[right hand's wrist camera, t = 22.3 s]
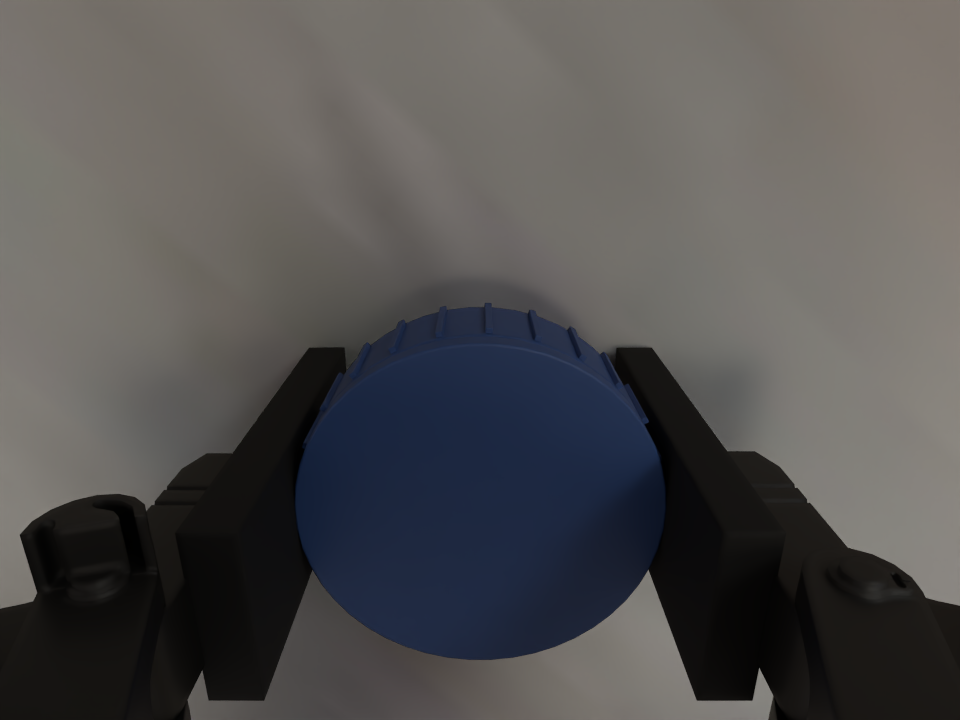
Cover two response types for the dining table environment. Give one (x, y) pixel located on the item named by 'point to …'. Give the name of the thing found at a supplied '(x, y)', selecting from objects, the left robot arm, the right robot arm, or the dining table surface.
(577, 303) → the dining table surface
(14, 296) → the dining table surface
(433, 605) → the lid
